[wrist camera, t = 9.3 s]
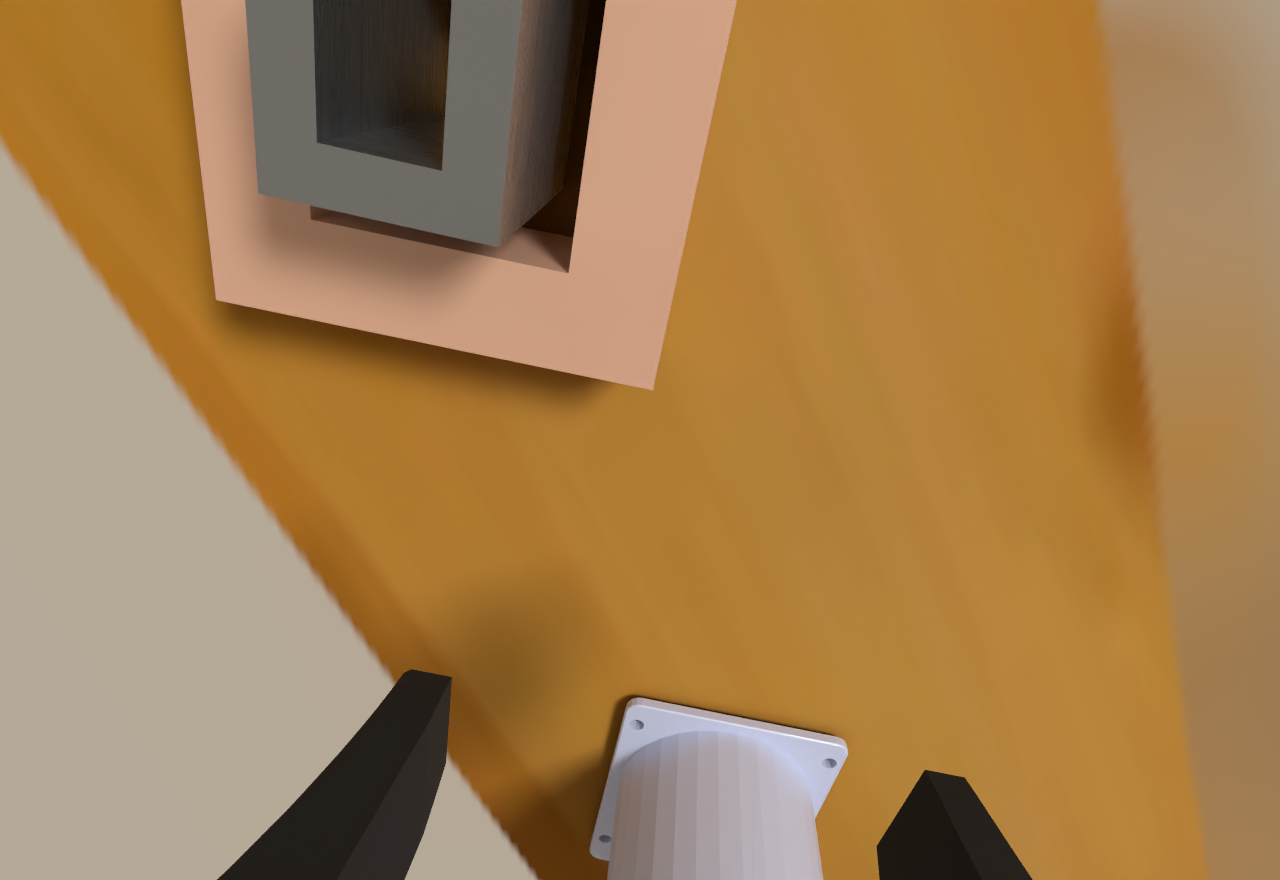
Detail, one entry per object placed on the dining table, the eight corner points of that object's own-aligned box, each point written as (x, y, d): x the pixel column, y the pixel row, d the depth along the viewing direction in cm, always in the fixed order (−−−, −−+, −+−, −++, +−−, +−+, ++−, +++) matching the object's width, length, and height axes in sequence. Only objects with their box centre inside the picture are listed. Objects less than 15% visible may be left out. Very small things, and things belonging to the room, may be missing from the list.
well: (660, 343, 18) (652, 390, 16) (286, 265, 18) (216, 300, 16) (762, -131, 14) (775, -178, 11) (254, -243, 13) (143, -316, 11)
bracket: (563, 188, 17) (498, 247, 11) (399, 151, 17) (258, 193, 11) (590, -5, 15) (526, -41, 10) (405, -48, 15) (237, -108, 9)
